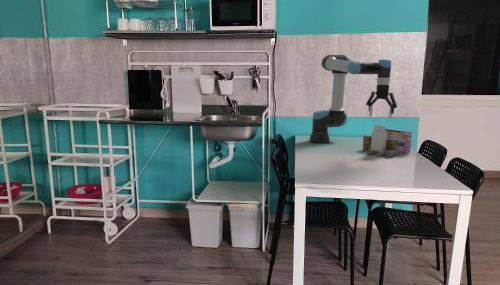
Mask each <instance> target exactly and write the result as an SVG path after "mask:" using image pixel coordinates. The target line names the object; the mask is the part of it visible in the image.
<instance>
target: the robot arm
mask: <svg viewBox="0 0 500 285" xmlns="http://www.w3.org/2000/svg"><path fill="white" fill-rule="evenodd" d="M320 63H321V67H322V68H323V69H324V70H325V71H328V72H330V71H331V74H332V75H333V81H332V92H331V105H330V106H331V107H330V108H329V109H328V110H324V109H323V110H321V109H320V110H316V111H314V112H313V113H312V124H311V125H312V126H311V127H312V128H311V134H310V136H309V142H311V143H316V144H327V143H330V141H331V140H330V135H329V131H328V130H329V128H340V127H341V128H342V127H344V126H345V125H346V123H347V122H348V114H347V113H346V112H345V109H344V107H343V106H344V95H345V87H346V86H345V85H346V76H347V75H348V73H349V74H350V75H377V79H376V91H375V90H374V91H373V90H372V91H371V94H370V96H369V97H368V100H367V101H366V104H365V105H366V106H368V117H373V111H374V106H373V105H374V104H375V103H376V102H377V101H378V100H385V102H386V103H387V105H388V106H389V107H390V108H389V111H388V120H392V118H393V114H394V113H395V109H396V108H398V105H397V101H396V100H395V99H396V98H395V96H394V92H390V91H389V90H390V85H389V84H390V83H391V82H390V81H391V70H392V60H391V59H379V60H378V62H371V61H370V62H366V61H365V62H360V61H359V62H358V61H352V59H351V57H350V56H348V55H346V54H328V55H326V56H324V57H323V58H322V59H321V62H320Z"/></svg>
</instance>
